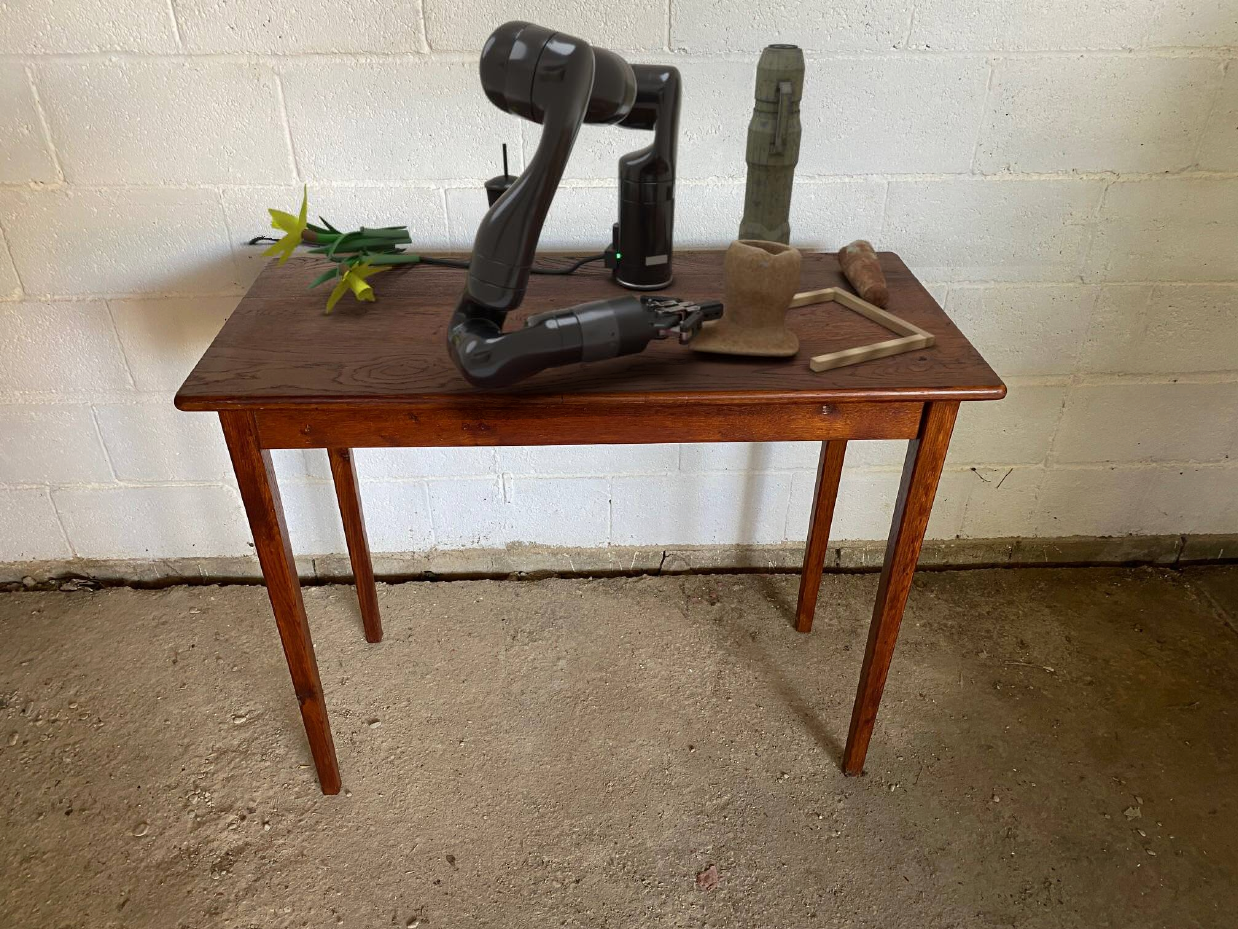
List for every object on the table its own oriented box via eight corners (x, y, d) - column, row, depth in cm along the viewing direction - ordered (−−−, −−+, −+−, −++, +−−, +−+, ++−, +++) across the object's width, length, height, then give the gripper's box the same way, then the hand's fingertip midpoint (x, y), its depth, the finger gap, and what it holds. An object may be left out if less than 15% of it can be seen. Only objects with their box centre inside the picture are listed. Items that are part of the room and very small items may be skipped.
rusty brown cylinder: (870, 270, 147) (876, 239, 144) (891, 311, 131) (898, 277, 128) (834, 269, 147) (839, 237, 144) (850, 309, 131) (856, 275, 128)
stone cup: (794, 333, 123) (807, 232, 115) (799, 368, 113) (814, 259, 105) (691, 327, 124) (697, 227, 116) (687, 361, 114) (693, 254, 106)
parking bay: (816, 372, 112) (817, 362, 111) (728, 315, 129) (729, 306, 128) (932, 345, 119) (934, 336, 119) (835, 295, 136) (836, 286, 135)
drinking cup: (539, 257, 151) (534, 141, 141) (522, 270, 145) (515, 149, 135) (501, 252, 153) (493, 137, 143) (482, 265, 147) (472, 146, 137)
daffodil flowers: (462, 270, 148) (363, 283, 115) (397, 309, 152) (284, 332, 119) (414, 182, 145) (299, 170, 112) (349, 224, 150) (221, 224, 117)
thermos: (775, 251, 155) (798, 41, 136) (795, 273, 145) (823, 49, 126) (728, 253, 154) (745, 41, 135) (746, 275, 144) (766, 49, 125)
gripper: (627, 320, 100) (749, 298, 106) (583, 285, 110) (697, 267, 117) (627, 377, 104) (744, 352, 110) (584, 338, 114) (694, 317, 121)
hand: (720, 308), depth 114 cm, fingers closed
